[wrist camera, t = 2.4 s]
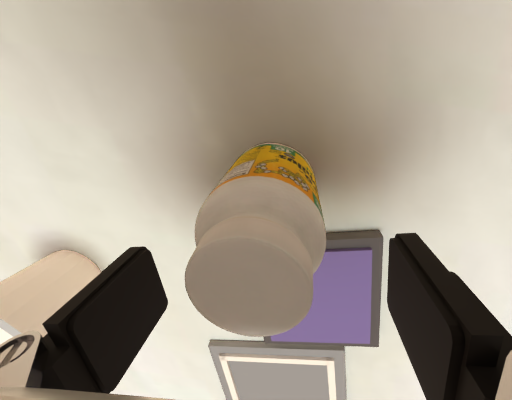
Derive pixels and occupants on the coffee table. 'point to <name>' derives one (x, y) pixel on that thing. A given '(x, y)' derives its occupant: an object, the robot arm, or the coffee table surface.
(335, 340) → the ink pad
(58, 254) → the white short cylinder
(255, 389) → the grey square tile
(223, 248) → the supplement bottle
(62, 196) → the coffee table surface
